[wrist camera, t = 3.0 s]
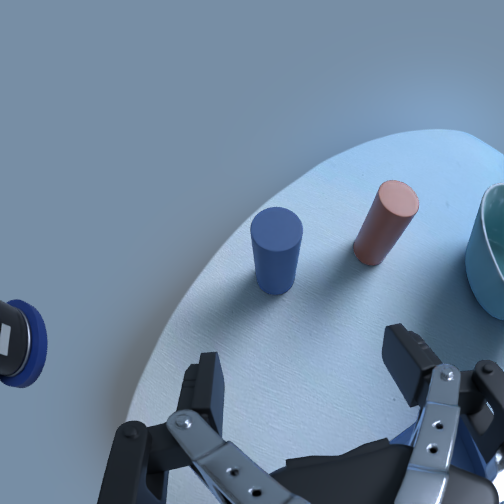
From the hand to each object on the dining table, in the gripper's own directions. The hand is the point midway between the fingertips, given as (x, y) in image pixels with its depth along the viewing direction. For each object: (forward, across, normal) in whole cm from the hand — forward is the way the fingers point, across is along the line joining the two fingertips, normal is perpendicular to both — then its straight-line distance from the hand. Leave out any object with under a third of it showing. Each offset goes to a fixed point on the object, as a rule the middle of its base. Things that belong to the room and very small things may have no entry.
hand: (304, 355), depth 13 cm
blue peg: (+15, 0, +3) cm, 16 cm away
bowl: (+12, -26, +6) cm, 29 cm away
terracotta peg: (+16, -10, +2) cm, 19 cm away
